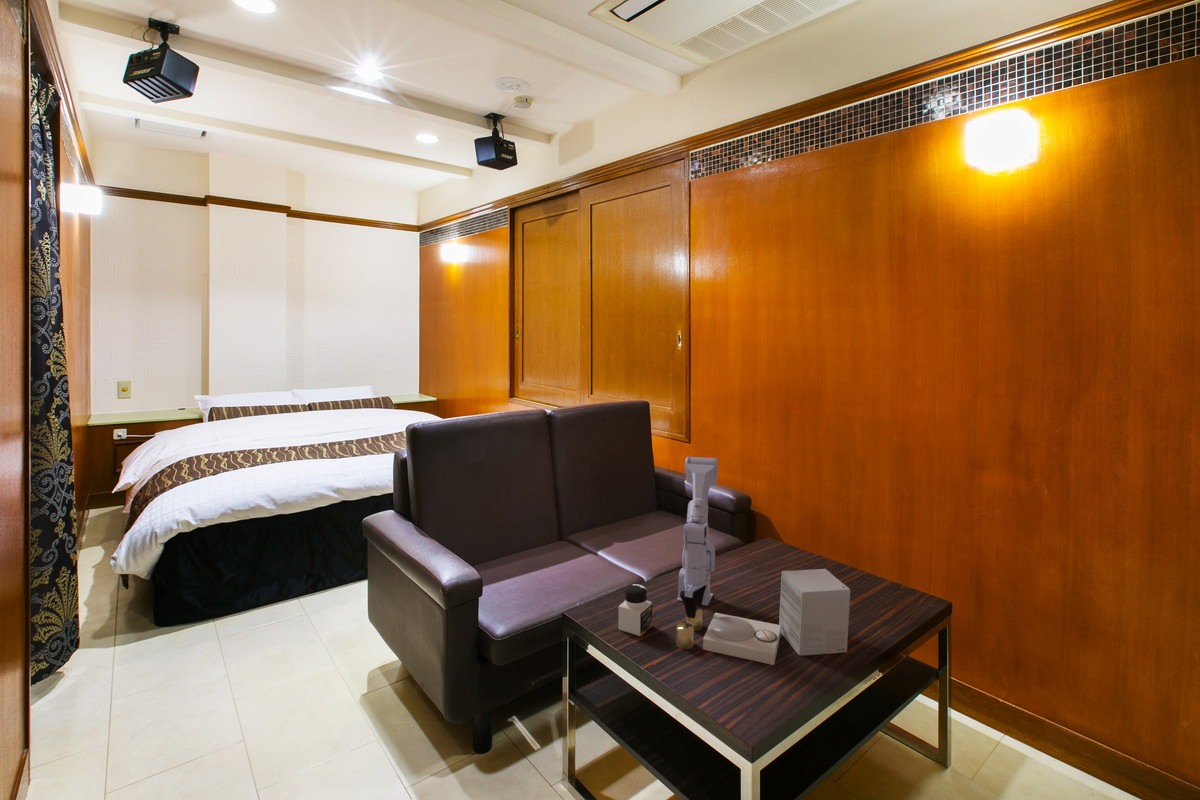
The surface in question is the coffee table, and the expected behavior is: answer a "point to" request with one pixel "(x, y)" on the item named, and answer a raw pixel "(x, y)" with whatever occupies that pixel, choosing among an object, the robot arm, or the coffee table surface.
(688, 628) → the cylinder
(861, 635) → the coffee table surface
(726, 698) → the coffee table surface
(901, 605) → the coffee table surface
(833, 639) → the supplement box
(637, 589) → the medicine bottle
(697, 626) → the cylinder
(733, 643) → the scale
